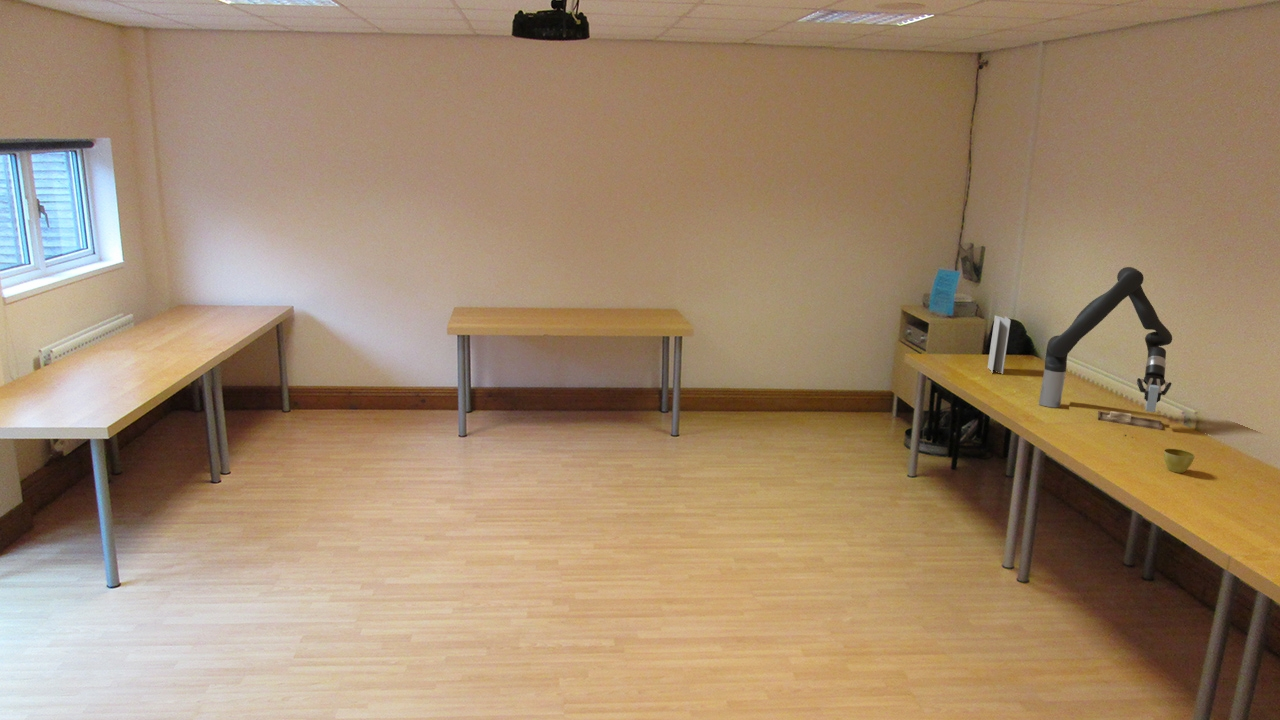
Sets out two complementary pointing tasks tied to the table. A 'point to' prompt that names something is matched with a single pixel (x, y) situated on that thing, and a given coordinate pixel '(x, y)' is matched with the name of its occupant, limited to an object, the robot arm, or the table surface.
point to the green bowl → (1178, 460)
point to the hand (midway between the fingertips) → (1152, 400)
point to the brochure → (999, 344)
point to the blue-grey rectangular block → (1152, 398)
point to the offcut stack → (1119, 416)
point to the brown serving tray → (1133, 421)
